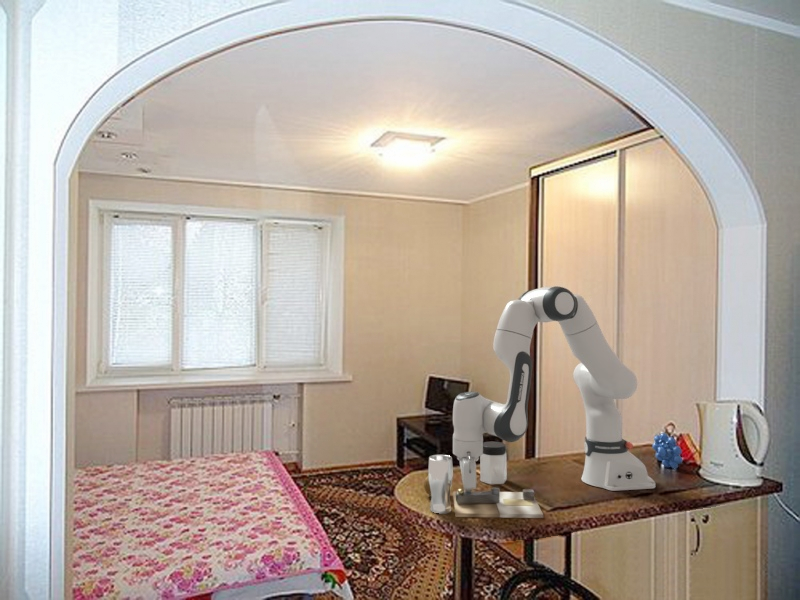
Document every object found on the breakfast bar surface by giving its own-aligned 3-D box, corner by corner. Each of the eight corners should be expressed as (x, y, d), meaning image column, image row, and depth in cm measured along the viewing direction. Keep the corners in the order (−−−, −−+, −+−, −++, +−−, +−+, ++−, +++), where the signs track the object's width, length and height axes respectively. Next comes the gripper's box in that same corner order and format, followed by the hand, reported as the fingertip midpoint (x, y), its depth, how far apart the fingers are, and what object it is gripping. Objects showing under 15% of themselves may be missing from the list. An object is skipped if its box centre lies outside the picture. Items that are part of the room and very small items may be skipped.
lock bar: (498, 499, 170) (498, 486, 170) (500, 502, 167) (500, 490, 167) (455, 500, 169) (455, 488, 169) (457, 504, 166) (457, 491, 166)
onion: (452, 493, 179) (452, 467, 179) (443, 501, 172) (443, 474, 172) (430, 490, 182) (430, 464, 182) (419, 498, 175) (419, 471, 175)
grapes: (644, 465, 208) (644, 431, 208) (657, 462, 211) (657, 429, 211) (673, 473, 197) (673, 438, 197) (686, 470, 201) (686, 436, 200)
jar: (483, 485, 187) (483, 448, 186) (477, 477, 195) (476, 441, 195) (510, 483, 188) (510, 447, 188) (502, 476, 196) (502, 440, 196)
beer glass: (425, 512, 163) (425, 459, 163) (432, 504, 170) (432, 453, 170) (449, 516, 161) (448, 462, 161) (455, 507, 167) (455, 455, 167)
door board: (531, 495, 177) (531, 484, 177) (543, 517, 159) (543, 505, 159) (452, 494, 178) (452, 483, 178) (455, 516, 160) (455, 504, 160)
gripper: (481, 457, 160) (481, 507, 160) (476, 439, 180) (476, 483, 181) (458, 457, 160) (458, 507, 160) (455, 439, 181) (456, 483, 181)
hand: (468, 494), depth 171 cm, fingers closed
